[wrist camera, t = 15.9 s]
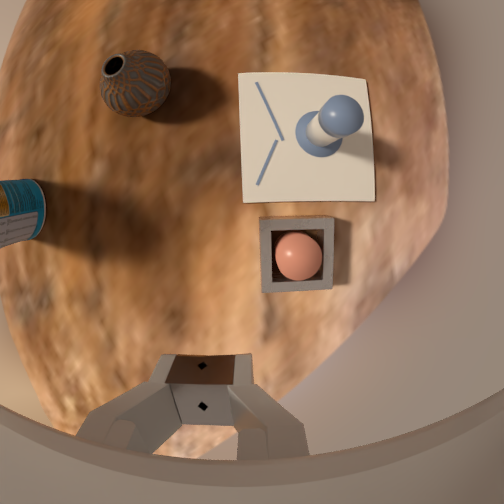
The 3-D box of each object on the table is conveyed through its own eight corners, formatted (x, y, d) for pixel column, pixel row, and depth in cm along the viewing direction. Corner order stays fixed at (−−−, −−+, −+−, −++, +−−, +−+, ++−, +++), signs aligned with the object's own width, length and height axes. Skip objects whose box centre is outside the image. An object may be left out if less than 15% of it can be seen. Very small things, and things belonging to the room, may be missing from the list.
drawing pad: (238, 74, 25) (238, 72, 24) (364, 80, 25) (365, 79, 24) (243, 202, 28) (243, 202, 27) (373, 201, 28) (375, 201, 27)
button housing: (258, 216, 28) (259, 220, 25) (326, 215, 28) (334, 218, 25) (260, 282, 30) (261, 292, 27) (324, 279, 30) (332, 288, 27)
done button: (273, 230, 28) (276, 236, 25) (314, 229, 28) (322, 234, 25) (274, 271, 29) (277, 281, 26) (313, 269, 29) (321, 279, 26)
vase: (175, 61, 24) (151, 22, 16) (180, 114, 26) (152, 87, 17) (119, 77, 24) (82, 49, 16) (121, 129, 26) (79, 113, 17)
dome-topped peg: (303, 117, 25) (322, 92, 18) (333, 119, 25) (361, 97, 18) (305, 147, 26) (325, 132, 18) (335, 148, 26) (365, 135, 18)
